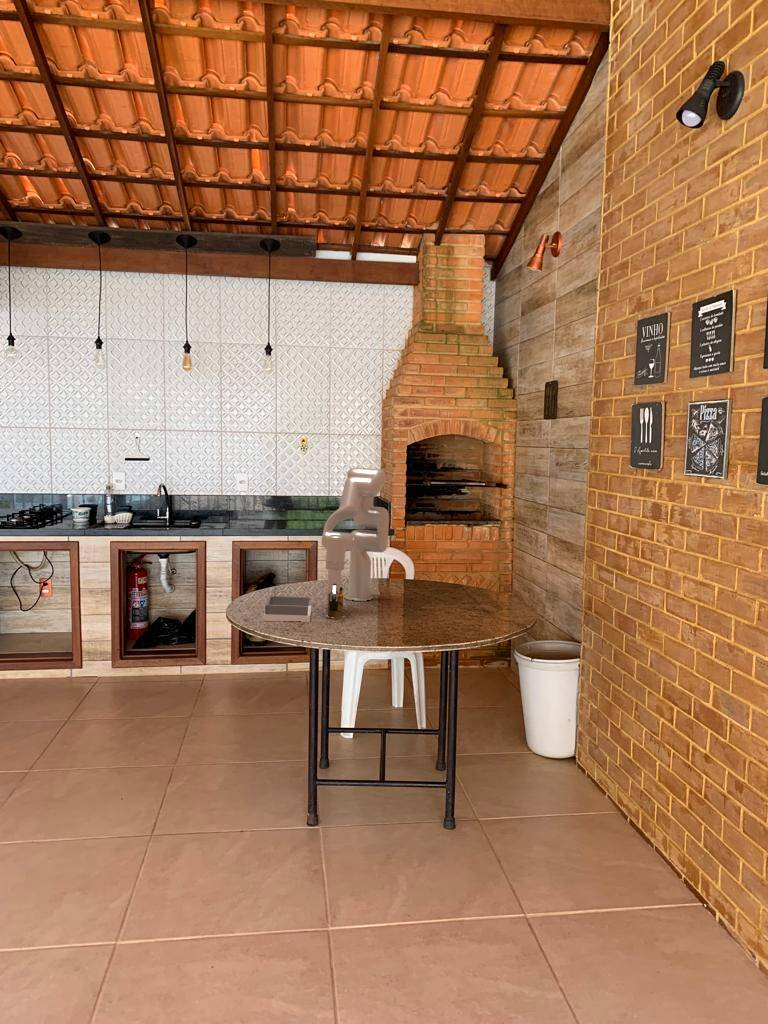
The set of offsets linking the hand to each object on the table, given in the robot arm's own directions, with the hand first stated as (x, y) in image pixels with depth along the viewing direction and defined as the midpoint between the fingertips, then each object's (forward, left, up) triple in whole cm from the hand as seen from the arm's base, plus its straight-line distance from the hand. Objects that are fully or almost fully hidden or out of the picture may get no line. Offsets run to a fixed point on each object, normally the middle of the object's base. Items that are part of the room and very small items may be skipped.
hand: (333, 608), depth 282 cm
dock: (+18, +2, -3) cm, 18 cm away
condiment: (0, 0, -3) cm, 3 cm away
